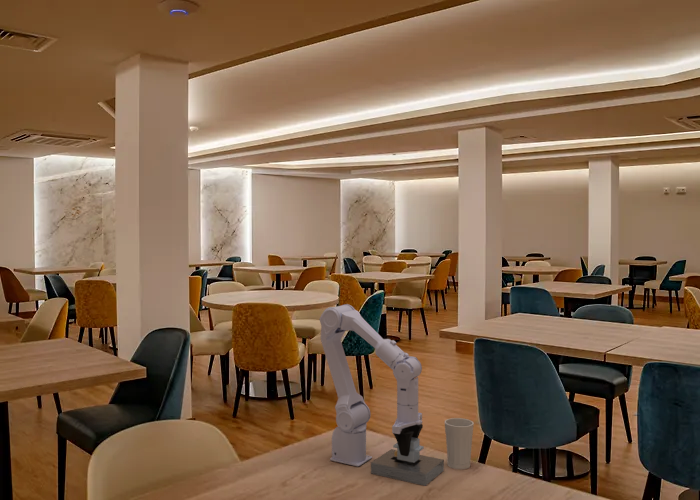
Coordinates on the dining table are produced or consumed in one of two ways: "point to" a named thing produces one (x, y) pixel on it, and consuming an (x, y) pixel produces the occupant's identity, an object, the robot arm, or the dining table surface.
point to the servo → (413, 453)
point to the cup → (458, 442)
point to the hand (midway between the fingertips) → (407, 453)
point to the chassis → (407, 468)
